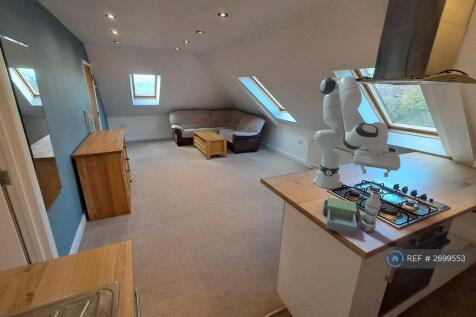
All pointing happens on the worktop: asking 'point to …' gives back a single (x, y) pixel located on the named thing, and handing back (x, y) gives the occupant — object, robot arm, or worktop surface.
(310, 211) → the worktop surface
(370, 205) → the silver metal bottle
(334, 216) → the toy pickup truck
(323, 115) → the robot arm
